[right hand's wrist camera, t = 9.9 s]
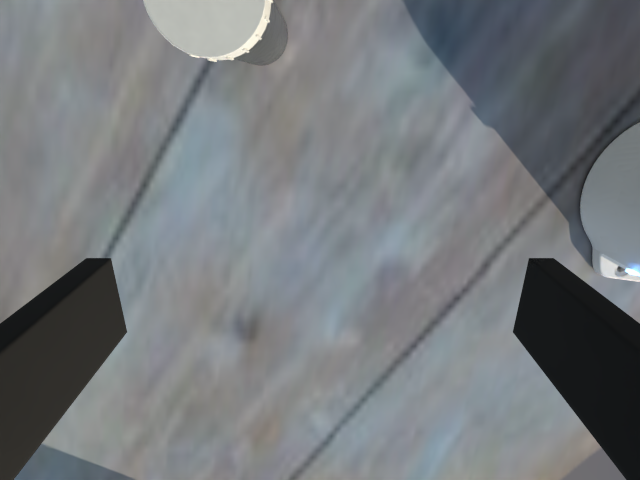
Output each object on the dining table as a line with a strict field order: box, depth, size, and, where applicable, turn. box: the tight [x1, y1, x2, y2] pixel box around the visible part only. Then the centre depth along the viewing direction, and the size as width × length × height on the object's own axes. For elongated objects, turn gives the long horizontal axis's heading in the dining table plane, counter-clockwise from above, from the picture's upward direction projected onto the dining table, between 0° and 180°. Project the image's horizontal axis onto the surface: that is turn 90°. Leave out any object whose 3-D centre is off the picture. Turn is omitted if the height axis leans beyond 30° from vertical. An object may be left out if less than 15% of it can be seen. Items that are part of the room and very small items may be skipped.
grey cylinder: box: [234, 0, 288, 65], centre depth 25 cm, size 5×5×17 cm
